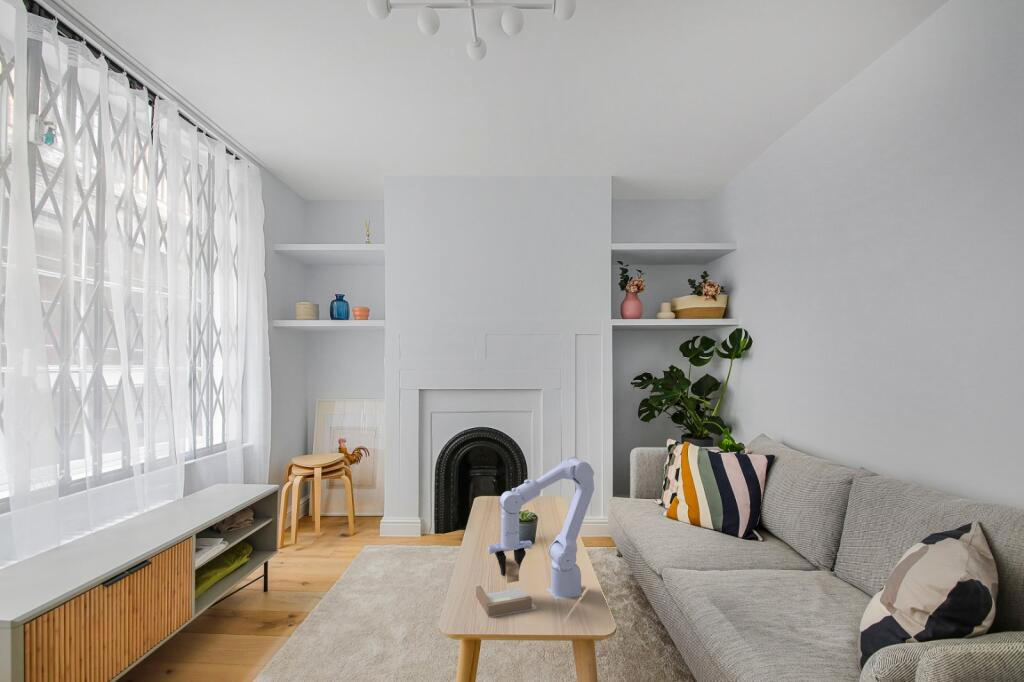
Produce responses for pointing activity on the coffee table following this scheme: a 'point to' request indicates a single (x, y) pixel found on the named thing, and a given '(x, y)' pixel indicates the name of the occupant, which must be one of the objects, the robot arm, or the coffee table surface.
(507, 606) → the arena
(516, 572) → the oak block
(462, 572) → the coffee table surface
